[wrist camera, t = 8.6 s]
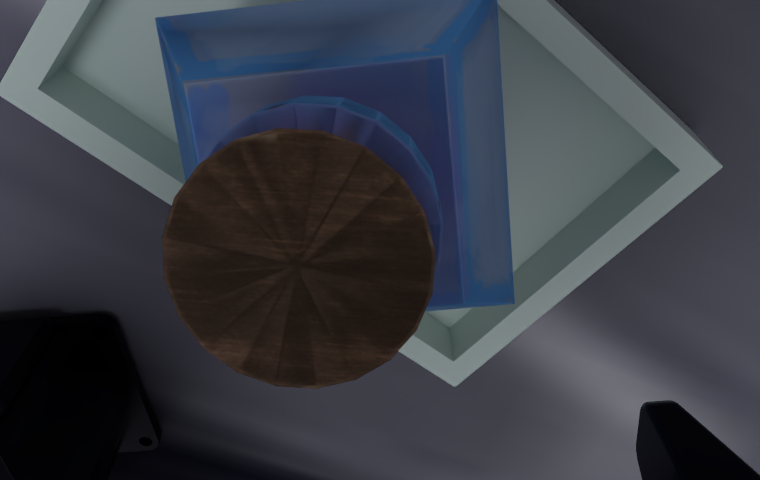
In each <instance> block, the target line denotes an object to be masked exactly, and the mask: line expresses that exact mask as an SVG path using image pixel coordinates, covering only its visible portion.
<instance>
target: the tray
mask: <svg viewBox="0 0 760 480" xmlns="http://www.w3.org/2000/svg"><path fill="white" fill-rule="evenodd" d="M295 1H304V0H47V1H46V3H45V5H44V6H43V8H42V10H41V12H40V14H39V15H38V17H37V19H36V21H35V22H34V24H33V26H32V28H31V29H30V31H29V33H28V35H27V37H26V38H25V40H24V42H23V44H22V45H21V47H20V49H19V51H18V53H17V54H16V56H15V58H14V60H13V61H12V63H11V65H10V67H9V68H8V70H7V72H6V74H5V76H4V77H3V79H2V81H1V83H0V96H1V97H2V98H4V99H6V100H7V101H9V102H10V103H12V104H13V105H15V106H16V107H18V108H20V109H21V110H23V111H24V112H26V113H27V114H29V115H31V116H32V117H34V118H35V119H37V120H38V121H40V122H41V123H43V124H45V125H46V126H48V127H49V128H51V129H52V130H54V131H55V132H57V133H59V134H60V135H62V136H63V137H65V138H66V139H68V140H70V141H71V142H73V143H74V144H76V145H77V146H79V147H80V148H82V149H84V150H85V151H87V152H88V153H90V154H91V155H93V156H95V157H96V158H98V159H99V160H101V161H102V162H104V163H105V164H107V165H109V166H110V167H112V168H113V169H115V170H116V171H118V172H120V173H121V174H123V175H124V176H126V177H127V178H129V179H130V180H132V181H134V182H135V183H137V184H138V185H140V186H141V187H143V188H144V189H146V190H148V191H149V192H151V193H152V194H154V195H155V196H157V197H159V198H160V199H162V200H163V201H165V202H166V203H168V204H169V205H171V206H172V203H173V200H174V197H175V196H176V194H177V193H178V192H179V190H180V189H181V188H182V186H183V185H184V184H185V182H186V181H185V176H184V171H183V165H182V160H181V155H180V149H179V144H178V139H177V133H176V128H175V123H174V117H173V112H172V107H171V101H170V96H169V91H168V85H167V80H166V75H165V69H164V64H163V59H162V53H161V48H160V43H159V37H158V32H157V27H156V21H155V18H156V17H165V16H174V15H182V14H191V13H200V12H208V11H217V10H226V9H234V8H243V7H252V6H260V5H269V4H278V3H286V2H295ZM497 8H498V25H499V42H500V59H501V76H502V93H503V110H504V128H505V145H506V162H507V179H508V196H509V213H510V230H511V247H512V265H513V282H514V299H515V304H509V305H497V306H485V307H473V308H461V309H449V310H437V311H426V312H425V313H424V315H423V317H422V319H421V322H420V324H419V326H418V329H417V331H416V332H415V333H414V334H413V335H412V336H411V337H410V339H409V340H408V341H407V342H406V343H405V344H404V345H403V346H402V347H401V348H400V350H399V352H401V353H402V354H404V355H405V356H407V357H408V358H410V359H411V360H413V361H415V362H416V363H418V364H419V365H421V366H422V367H424V368H425V369H427V370H429V371H430V372H432V373H433V374H435V375H436V376H438V377H440V378H441V379H443V380H444V381H446V382H447V383H449V384H450V385H452V386H454V387H456V386H457V385H458V384H460V383H461V382H462V381H463V380H464V379H466V378H467V377H468V376H469V375H471V374H472V373H473V372H474V371H475V370H477V369H478V368H479V367H480V366H482V365H483V364H484V363H485V362H486V361H488V360H489V359H490V358H491V357H492V356H494V355H495V354H496V353H497V352H499V351H500V350H501V349H502V348H503V347H505V346H506V345H507V344H508V343H510V342H511V341H512V340H513V339H514V338H516V337H517V336H518V335H519V334H520V333H522V332H523V331H524V330H525V329H527V328H528V327H529V326H530V325H531V324H533V323H534V322H535V321H536V320H538V319H539V318H540V317H541V316H542V315H544V314H545V313H546V312H547V311H548V310H550V309H551V308H552V307H553V306H555V305H556V304H557V303H558V302H559V301H561V300H562V299H563V298H564V297H566V296H567V295H568V294H569V293H570V292H572V291H573V290H574V289H575V288H576V287H578V286H579V285H580V284H581V283H583V282H584V281H585V280H586V279H587V278H589V277H590V276H591V275H592V274H594V273H595V272H596V271H597V270H598V269H600V268H601V267H602V266H603V265H605V264H606V263H607V262H608V261H609V260H611V259H612V258H613V257H614V256H615V255H617V254H618V253H619V252H620V251H622V250H623V249H624V248H625V247H626V246H628V245H629V244H630V243H631V242H633V241H634V240H635V239H636V238H637V237H639V236H640V235H641V234H642V233H643V232H645V231H646V230H647V229H648V228H650V227H651V226H652V225H653V224H654V223H656V222H657V221H658V220H659V219H661V218H662V217H663V216H664V215H665V214H667V213H668V212H669V211H670V210H671V209H673V208H674V207H675V206H676V205H678V204H679V203H680V202H681V201H682V200H684V199H685V198H686V197H687V196H689V195H690V194H691V193H692V192H693V191H695V190H696V189H697V188H698V187H699V186H701V185H702V184H703V183H704V182H706V181H707V180H708V179H709V178H710V177H712V176H713V175H714V174H715V173H717V172H718V171H719V170H720V169H721V168H723V166H722V165H721V163H720V162H719V161H718V160H717V159H716V158H715V156H714V155H713V154H712V153H711V152H710V151H709V149H708V148H707V147H706V146H705V145H704V144H703V142H702V141H701V140H700V139H699V138H698V137H697V135H696V134H695V133H694V132H693V131H692V130H691V129H690V128H689V127H688V126H687V125H686V124H685V123H684V122H683V121H682V120H681V119H679V118H678V117H677V116H676V115H675V114H674V113H673V112H672V111H671V110H670V109H669V108H668V107H667V106H666V105H665V104H664V103H663V102H662V101H660V100H659V99H658V98H657V97H656V96H655V95H654V94H653V93H652V92H651V91H650V90H649V89H648V88H647V87H646V86H645V85H644V84H642V83H641V82H640V81H639V80H638V79H637V78H636V77H635V76H634V75H633V74H632V73H631V72H630V71H629V70H628V69H627V68H626V67H624V66H623V65H622V64H621V63H620V62H619V61H618V60H617V59H616V58H615V57H614V56H613V55H612V54H611V53H610V52H609V51H608V50H607V49H605V48H604V47H603V46H602V45H601V44H600V43H599V42H598V41H597V40H596V39H595V38H594V37H593V36H592V35H591V34H590V33H589V32H587V31H586V30H585V29H584V28H583V27H582V26H581V25H580V24H579V23H578V22H577V21H576V20H575V19H574V18H573V17H572V16H571V15H570V14H568V13H567V12H566V11H565V10H564V9H563V8H562V7H561V6H560V5H559V4H558V3H557V2H556V1H555V0H497Z"/></svg>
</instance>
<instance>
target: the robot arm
mask: <svg viewBox="0 0 760 480" xmlns="http://www.w3.org/2000/svg"><path fill="white" fill-rule="evenodd" d="M98 327H103V328H105V329H106V330H107V331H106V330H101V329H100V328H98ZM146 437H148V438H146ZM160 439H161V432H160V429H159V426H158V424H157V421H156V419H155V416H154V414H153V411H152V409H151V406H150V404H149V401H148V399H147V396H146V394H145V391H144V389H143V386H142V383H141V381H140V378H139V376H138V373H137V371H136V368H135V366H134V363H133V361H132V358H131V356H130V353H129V351H128V348H127V346H126V343H125V340H124V338H123V335H122V333H121V330H120V328H119V325H118V323H117V322H116V320H115V319H114V318H112V317H111V316H109V315H106V314H90V315H78V316H66V317H54V318H34V319H22V320H11V321H0V480H107V479H108V476H109V474H110V471H111V469H112V466H113V464H114V461H115V459H116V456H117V454H118V453H120V452H134V451H148V450H153V449H155V448H157V446H158V444H159V442H160ZM636 452H637V459H638V464H639V468H640V472H641V476H642V480H760V475H759V474H758V473H757V472H756V471H754V470H753V469H752V468H751V467H750V466H749V465H748V464H746V463H745V462H744V461H743V460H742V459H741V458H740V457H738V456H737V455H736V454H735V453H734V452H733V451H732V450H730V449H729V448H728V447H727V446H726V445H725V444H724V443H722V442H721V441H720V440H719V439H718V438H717V437H716V436H714V435H713V434H712V433H711V432H710V431H709V430H708V429H706V428H705V427H704V426H703V425H702V424H701V423H700V422H698V421H697V420H696V419H695V418H694V417H693V416H692V415H690V414H689V413H688V412H687V411H686V410H685V409H684V408H682V407H681V406H680V405H679V404H678V403H676V402H674V401H654V402H646V403H644V404H643V405H642V407H641V409H640V416H639V425H638V433H637V441H636Z"/></svg>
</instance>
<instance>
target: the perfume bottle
mask: <svg viewBox="0 0 760 480" xmlns="http://www.w3.org/2000/svg"><path fill="white" fill-rule="evenodd" d="M155 21H156V27H157V32H158V37H159V43H160V48H161V53H162V59H163V64H164V69H165V75H166V80H167V85H168V91H169V96H170V101H171V107H172V112H173V117H174V123H175V128H176V133H177V139H178V144H179V149H180V155H181V160H182V165H183V171H184V176H185V181H186V182H185V184H184V185H183V186H182V188H181V189H180V190H179V192H178V193H177V194H176V196H175V197H174V200H173V203H172V207H171V210H170V213H169V216H168V220H167V223H166V226H165V230H164V233H163V236H162V239H163V265H164V279H165V281H166V284H167V287H168V289H169V292H170V295H171V297H172V300H173V303H174V305H175V308H176V311H177V313H178V316H179V317H180V318H181V320H182V321H183V322H184V324H185V325H186V326H187V327H188V329H189V330H190V331H191V333H192V334H193V335H194V337H195V338H196V339H197V340H198V342H199V343H200V344H201V346H202V347H203V348H204V349H205V350H207V351H208V352H210V353H211V354H212V355H214V356H215V357H217V358H218V359H219V360H221V361H222V362H223V363H225V364H226V365H228V366H229V367H230V368H232V369H233V370H235V371H236V372H238V373H241V374H243V375H246V376H249V377H252V378H255V379H257V380H260V381H263V382H266V383H268V384H271V385H274V386H283V387H298V388H313V389H317V388H321V387H326V386H330V385H335V384H339V383H344V382H348V381H353V380H356V379H358V378H360V377H361V376H363V375H365V374H367V373H368V372H370V371H372V370H374V369H375V368H377V367H379V366H380V365H382V364H384V363H386V362H387V361H389V360H391V358H392V357H393V356H394V355H395V354H396V353H397V352H398V351H399V350H400V348H401V347H402V346H403V345H404V344H405V343H406V342H407V341H408V340H409V339H410V337H411V336H412V335H413V334H414V333H415V332H416V331H417V329H418V326H419V324H420V322H421V319H422V317H423V315H424V313H425V312H426V311H437V310H449V309H461V308H473V307H485V306H497V305H509V304H515V299H514V282H513V265H512V247H511V230H510V213H509V196H508V179H507V162H506V145H505V128H504V110H503V93H502V76H501V59H500V42H499V25H498V8H497V0H304V1H295V2H286V3H278V4H269V5H260V6H252V7H243V8H234V9H226V10H217V11H208V12H200V13H191V14H182V15H174V16H165V17H156V18H155Z"/></svg>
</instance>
